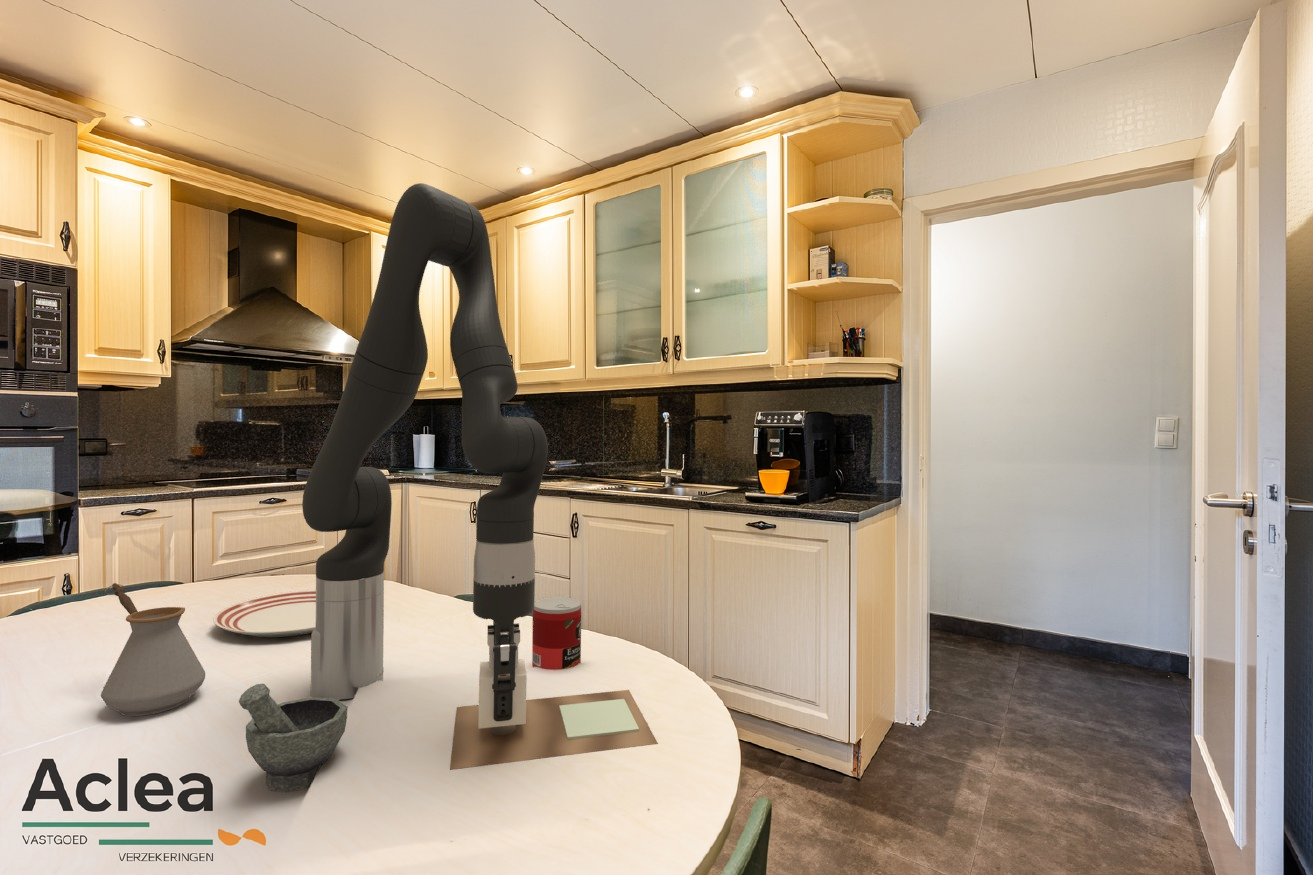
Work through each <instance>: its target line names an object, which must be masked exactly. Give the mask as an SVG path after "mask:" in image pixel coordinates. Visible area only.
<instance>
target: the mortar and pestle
mask: <svg viewBox="0 0 1313 875" xmlns="http://www.w3.org/2000/svg"><path fill="white" fill-rule="evenodd" d="M270 692H271V690H270V688H269V687H268V686H267V685H266V684H265V683H257V684H255V685H252V686H250V687H249V688H247V689H246V690H245V691H244V692H243V693H242V694H241V695H240V697H239V699H238V703H239V705H240V706H241V707H242V709H243V710H247V712H248V713H249V715H250V717H251V719H250V720H249V722H248V723H246V725H245V740H246V745H247V750H248V753H249V754H250V755H251V757H252V758H253V760H254V761H255V763H257V766H259V767H260V769H261V770H262V771H263V772H265V773H266V775H265V781H264V782H265V783H264V785H265V786H266V787H267V788H268V789H269V790H270V792H281V793H289V792H294V791H299V790H303V789H308V788H310V787H311V786H312V784H313V781H314V780H315V778H316V776H317V774H318V771H319V770H320V767H321V766H323V764H324V763H325V762H326V761H327V760H328V759H329V758H330V757H331V756H332V755H333V753H334V752H335V750H336V748H337V747H338V745H339V743H340V741H341V740H342V737H343V735H344V733H345V731H346V727H347V726H346V725H347V719H348V706H347V705H346V704H345V703H343V702H342V701H341V700H338V699H335V698H319V697H311V696H310V697H306V698H302V699H301V698H300V699H294V700H289V701H285V702H281V703H279V704H278V703H277V702H276V701H275V700H274V698H273V697H272V696H271V694H270Z"/></svg>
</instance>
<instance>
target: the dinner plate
mask: <svg viewBox="0 0 1313 875" xmlns="http://www.w3.org/2000/svg"><path fill="white" fill-rule="evenodd" d="M212 620H213V623H214V625H215V626H217V627H219V628H221V629H223V630H224V631H225V630H226V631H228V632H232V633H235V634H241V635H248V636H252V637H259V638H282V637H285V638H286V637H293V636H295V637H296V636H300V635H301V636H302V635H307V634H312V632H313V631H314V629H315V628H316V589H310V590H309V589H307V590H295V591H289V592H288V591H287V592H279V593H274V594H267V595H264V596H263V595H262V596H259V597H254V598H250V599H247V600H243V601H240V602H237V603H234V604H231V605H229V606H227V607H225V608H223V609H221V610H219V611H218V612H216V613H215V614H214V616H213V618H212Z"/></svg>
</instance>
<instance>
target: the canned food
mask: <svg viewBox="0 0 1313 875" xmlns="http://www.w3.org/2000/svg"><path fill="white" fill-rule="evenodd" d="M531 642H532V643H531V644H532V646H531V647H532V651H531V652H532V653H531V654H532V656H531V657H532V659H531V661H532V668H539V669H543V670H550V671H551V670H554V671H555V670H556V671H557V670H566V669H571V668H574V667H575V666H578V665H579V664H582V663H581V662H582V661H581V660H582V658H581V656H582V603H581V601H580V600H578V599H575V598H572V597H565V596H553V597H545V598H541V599H538V600H536V601H535V600H534V610H533V611H532V641H531Z"/></svg>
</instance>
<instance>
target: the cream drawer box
mask: <svg viewBox="0 0 1313 875" xmlns="http://www.w3.org/2000/svg"><path fill="white" fill-rule="evenodd" d="M478 677H479V678H478V682H479V683H478V705H479V723H478V729H479V728H489V727H499V726H509V725H519V724H526V700H527V681H528V680H527V679H528V678H527V668H526V661H525V658H518V666H517V668H516V669H515V683H516V687H515V690H513V708H512V718H511V719H510V720H507V721H495V720H494V692H493V689H492V684H493V671H492V670H490V668H489V660H488V661H480V662H479V675H478ZM507 679H510V674H500V675H498V680H507Z"/></svg>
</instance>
